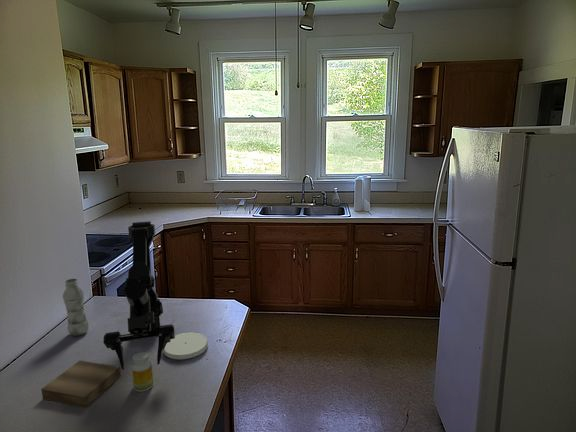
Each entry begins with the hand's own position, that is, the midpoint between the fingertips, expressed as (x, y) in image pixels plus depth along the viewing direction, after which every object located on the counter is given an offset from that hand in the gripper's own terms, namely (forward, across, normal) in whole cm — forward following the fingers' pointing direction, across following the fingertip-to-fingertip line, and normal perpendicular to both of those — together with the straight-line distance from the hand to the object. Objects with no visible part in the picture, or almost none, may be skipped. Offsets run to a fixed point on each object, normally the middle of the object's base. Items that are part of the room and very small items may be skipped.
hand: (140, 366), depth 113 cm
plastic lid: (-7, +12, +18) cm, 23 cm away
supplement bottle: (+4, 0, +6) cm, 7 cm away
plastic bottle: (-23, -24, +33) cm, 47 cm away
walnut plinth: (+1, -16, +9) cm, 19 cm away
